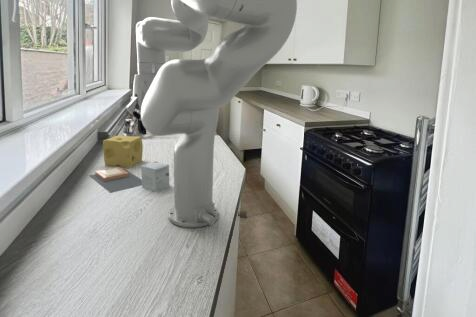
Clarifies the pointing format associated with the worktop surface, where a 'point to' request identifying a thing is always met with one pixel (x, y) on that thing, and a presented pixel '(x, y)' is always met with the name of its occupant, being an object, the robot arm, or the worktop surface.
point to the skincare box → (155, 175)
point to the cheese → (122, 151)
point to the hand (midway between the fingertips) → (153, 131)
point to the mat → (119, 182)
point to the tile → (111, 173)
